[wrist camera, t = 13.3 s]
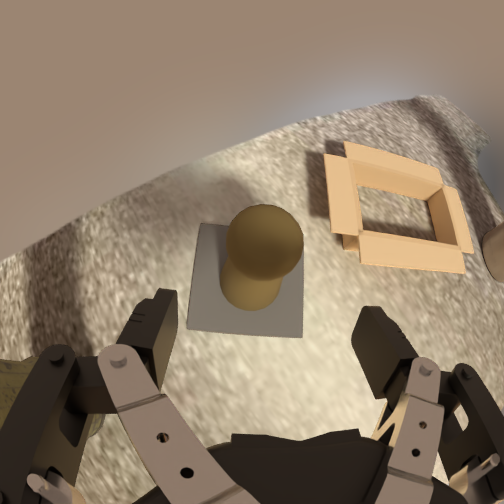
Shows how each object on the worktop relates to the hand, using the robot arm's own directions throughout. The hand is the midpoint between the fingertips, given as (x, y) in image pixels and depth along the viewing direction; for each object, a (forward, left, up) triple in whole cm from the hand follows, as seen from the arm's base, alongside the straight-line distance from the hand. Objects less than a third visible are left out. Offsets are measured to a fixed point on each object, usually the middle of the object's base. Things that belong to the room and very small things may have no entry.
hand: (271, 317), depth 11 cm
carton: (-19, -16, -15) cm, 29 cm away
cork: (0, -6, -15) cm, 16 cm away
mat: (0, -6, -15) cm, 16 cm away
